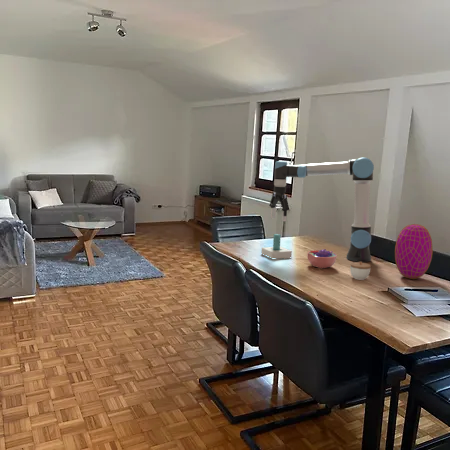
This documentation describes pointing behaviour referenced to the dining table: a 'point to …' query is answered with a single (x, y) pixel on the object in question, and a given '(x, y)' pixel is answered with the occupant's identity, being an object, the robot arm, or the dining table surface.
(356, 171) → the robot arm
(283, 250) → the socket block
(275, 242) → the peg
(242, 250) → the dining table surface
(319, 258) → the cell model
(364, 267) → the lidded jar
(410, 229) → the decorative egg
